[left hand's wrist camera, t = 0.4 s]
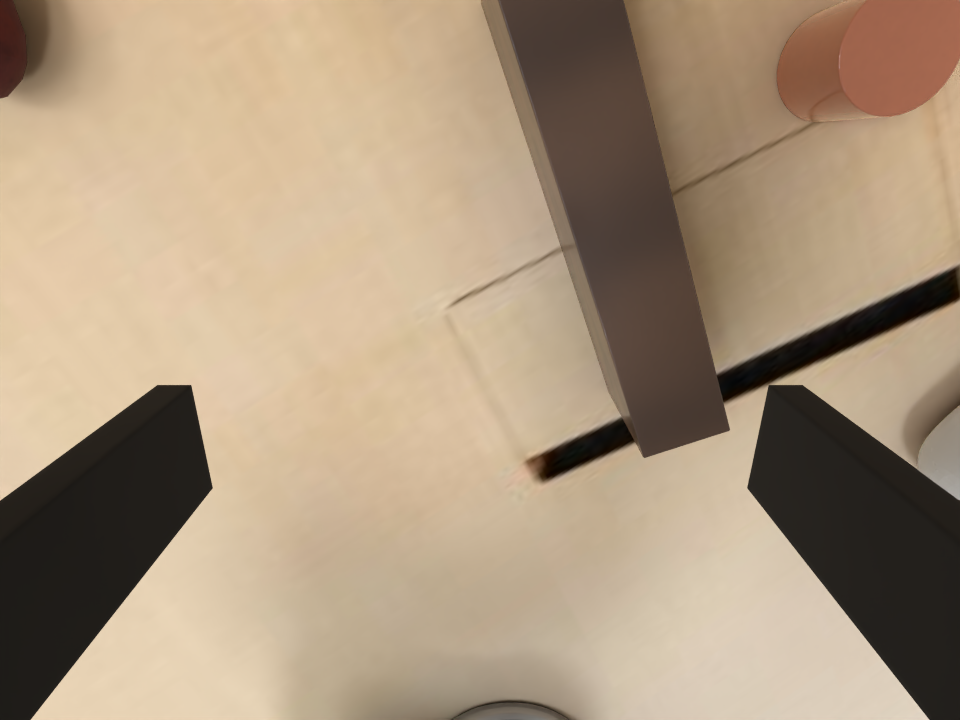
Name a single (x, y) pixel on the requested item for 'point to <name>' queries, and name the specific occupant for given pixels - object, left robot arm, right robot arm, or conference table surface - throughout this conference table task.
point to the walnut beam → (612, 210)
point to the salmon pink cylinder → (869, 58)
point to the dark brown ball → (11, 48)
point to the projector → (943, 454)
